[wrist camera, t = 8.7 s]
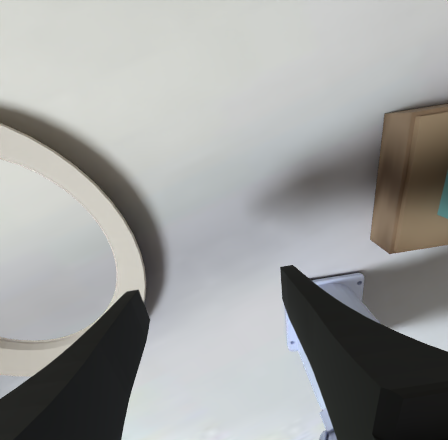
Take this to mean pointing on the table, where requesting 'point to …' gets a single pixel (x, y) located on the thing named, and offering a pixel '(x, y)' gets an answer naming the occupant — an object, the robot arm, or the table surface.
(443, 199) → the teal cube
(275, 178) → the table surface
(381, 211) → the walnut plinth
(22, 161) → the plate
